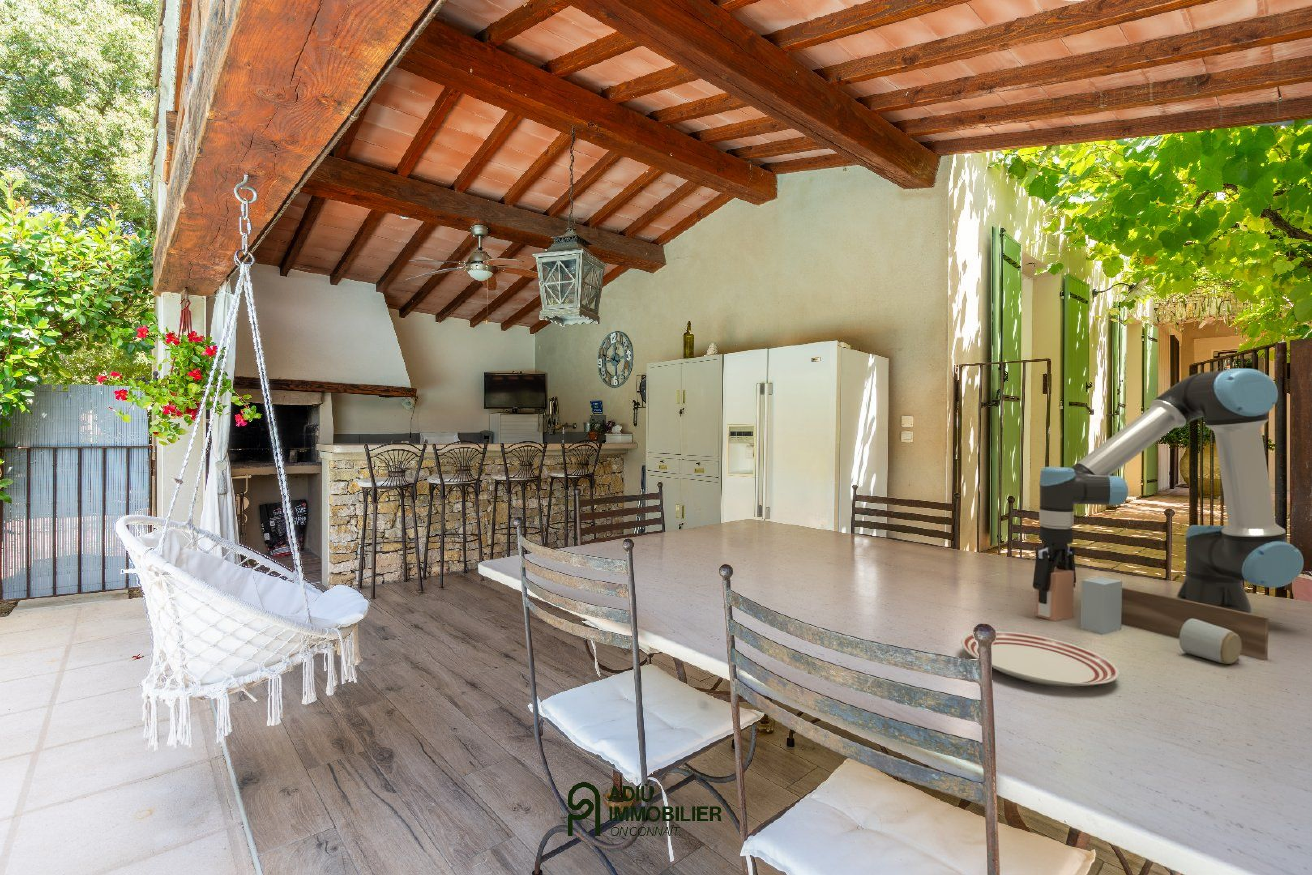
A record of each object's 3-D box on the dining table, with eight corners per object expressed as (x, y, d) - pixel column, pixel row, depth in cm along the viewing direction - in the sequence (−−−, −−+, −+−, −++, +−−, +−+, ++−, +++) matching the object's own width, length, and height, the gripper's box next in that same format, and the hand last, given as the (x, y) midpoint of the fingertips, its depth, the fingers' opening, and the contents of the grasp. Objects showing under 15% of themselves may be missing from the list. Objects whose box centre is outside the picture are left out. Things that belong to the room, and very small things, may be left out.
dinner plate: (1091, 653, 134) (1091, 638, 134) (1144, 708, 108) (1144, 689, 108) (953, 638, 143) (953, 624, 143) (971, 685, 117) (971, 667, 117)
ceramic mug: (1224, 668, 126) (1225, 631, 126) (1177, 654, 134) (1178, 619, 134) (1251, 662, 130) (1253, 626, 130) (1205, 648, 138) (1206, 614, 138)
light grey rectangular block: (1098, 623, 154) (1099, 576, 154) (1120, 629, 150) (1122, 580, 150) (1080, 628, 151) (1081, 579, 150) (1103, 634, 146) (1104, 584, 146)
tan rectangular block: (1053, 611, 164) (1053, 566, 164) (1072, 616, 160) (1073, 570, 159) (1035, 615, 160) (1036, 570, 160) (1055, 621, 156) (1056, 574, 156)
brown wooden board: (1101, 617, 160) (1102, 582, 160) (1267, 658, 131) (1268, 617, 131) (1098, 617, 159) (1099, 583, 159) (1264, 659, 131) (1265, 618, 131)
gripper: (1063, 521, 168) (1061, 604, 168) (1017, 527, 158) (1015, 614, 158) (1093, 525, 161) (1091, 611, 162) (1047, 531, 151) (1045, 623, 152)
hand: (1054, 613), depth 160 cm, fingers closed on tan rectangular block, 8 cm apart
